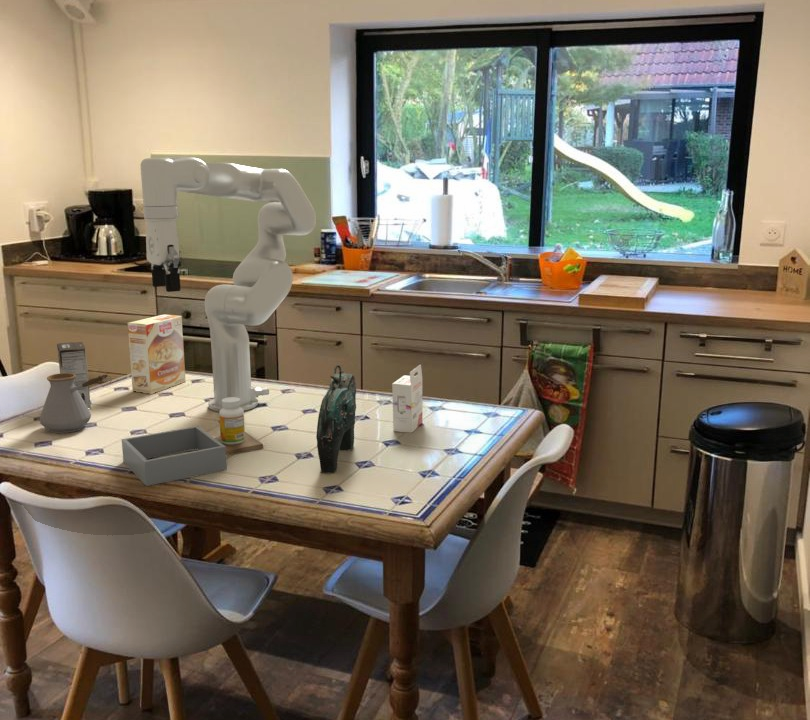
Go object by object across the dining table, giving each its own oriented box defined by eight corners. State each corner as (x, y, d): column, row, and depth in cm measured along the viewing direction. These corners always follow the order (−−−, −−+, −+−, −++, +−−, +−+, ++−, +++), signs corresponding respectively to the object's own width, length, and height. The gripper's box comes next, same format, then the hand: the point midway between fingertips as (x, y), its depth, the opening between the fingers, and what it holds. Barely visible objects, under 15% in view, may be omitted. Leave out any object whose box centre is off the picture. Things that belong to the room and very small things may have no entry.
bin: (199, 447, 188) (197, 425, 187) (226, 469, 174) (225, 446, 173) (123, 461, 179) (121, 439, 178) (146, 486, 166) (144, 462, 165)
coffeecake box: (151, 394, 231) (146, 324, 226) (131, 391, 234) (125, 322, 229) (187, 381, 244) (182, 315, 240) (167, 379, 247) (162, 313, 243)
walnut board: (245, 436, 196) (245, 432, 195) (263, 448, 187) (262, 443, 187) (203, 443, 190) (203, 439, 190) (220, 456, 182) (219, 452, 182)
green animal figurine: (336, 442, 191) (334, 356, 187) (364, 444, 190) (362, 357, 185) (311, 473, 172) (308, 378, 167) (342, 475, 171) (340, 379, 166)
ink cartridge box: (403, 421, 207) (403, 362, 203) (423, 423, 205) (423, 363, 202) (391, 431, 199) (391, 370, 195) (411, 433, 197) (411, 372, 194)
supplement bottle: (223, 437, 191) (220, 396, 189) (246, 437, 192) (245, 396, 189) (218, 445, 186) (216, 403, 184) (243, 445, 186) (241, 402, 184)
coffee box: (62, 402, 223) (56, 343, 220) (88, 400, 226) (82, 340, 222) (64, 411, 215) (58, 350, 212) (91, 408, 218) (85, 347, 214)
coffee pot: (29, 431, 200) (23, 369, 196) (69, 418, 210) (63, 359, 206) (93, 445, 190) (87, 380, 186) (132, 431, 200) (127, 369, 196)
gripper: (133, 212, 197) (139, 285, 201) (156, 216, 183) (162, 294, 187) (165, 211, 201) (170, 283, 205) (190, 215, 187) (195, 291, 191)
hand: (166, 288), depth 196 cm, fingers open, 9 cm apart
